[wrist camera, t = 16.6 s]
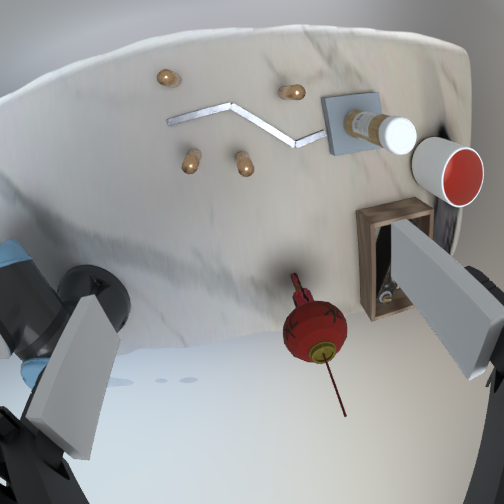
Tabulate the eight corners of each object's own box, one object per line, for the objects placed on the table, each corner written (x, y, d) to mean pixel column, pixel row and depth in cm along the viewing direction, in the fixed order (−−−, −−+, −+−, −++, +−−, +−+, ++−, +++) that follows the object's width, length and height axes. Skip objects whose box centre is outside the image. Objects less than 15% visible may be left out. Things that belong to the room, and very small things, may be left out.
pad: (330, 153, 47) (334, 156, 45) (321, 98, 43) (325, 98, 41) (380, 145, 47) (385, 147, 45) (373, 92, 43) (378, 92, 41)
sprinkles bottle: (357, 143, 45) (401, 163, 33) (337, 123, 43) (378, 135, 31) (375, 123, 43) (424, 137, 31) (356, 102, 41) (402, 109, 30)
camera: (386, 284, 60) (404, 308, 53) (359, 283, 59) (375, 307, 52) (413, 210, 53) (436, 227, 46) (385, 204, 52) (407, 222, 45)
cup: (412, 131, 46) (447, 142, 37) (453, 139, 47) (488, 152, 38) (405, 186, 51) (436, 206, 42) (445, 189, 52) (477, 208, 43)
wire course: (184, 179, 47) (178, 194, 40) (156, 79, 39) (143, 76, 32) (327, 146, 46) (345, 155, 39) (307, 46, 39) (323, 37, 32)
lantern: (303, 302, 60) (351, 438, 34) (259, 288, 57) (288, 434, 31) (328, 263, 56) (400, 394, 30) (283, 245, 54) (337, 386, 27)
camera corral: (360, 303, 62) (371, 321, 56) (355, 210, 52) (370, 224, 47) (412, 287, 61) (425, 303, 56) (415, 197, 52) (433, 208, 46)
